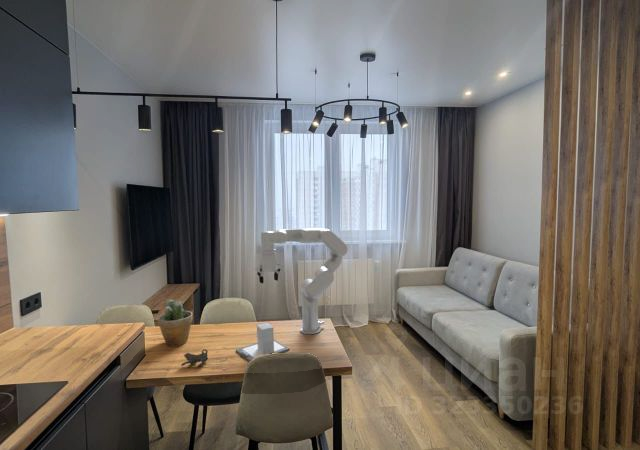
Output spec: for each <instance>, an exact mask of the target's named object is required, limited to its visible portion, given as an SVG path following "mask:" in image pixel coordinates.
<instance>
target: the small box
mask: <svg viewBox="0 0 640 450" xmlns="http://www.w3.org/2000/svg"><path fill="white" fill-rule="evenodd" d="M256 334H257V335H256V338H257V339H256V340H257V342H256V343H257V344H258V350H259V351H260V352H261V353H262V354H267V353H270V352H274V340H275V338H274V337H275V335H274V327H273V326H272V325H271V324H270V323H268V322H266V323H259V324H257V325H256Z"/></svg>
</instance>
